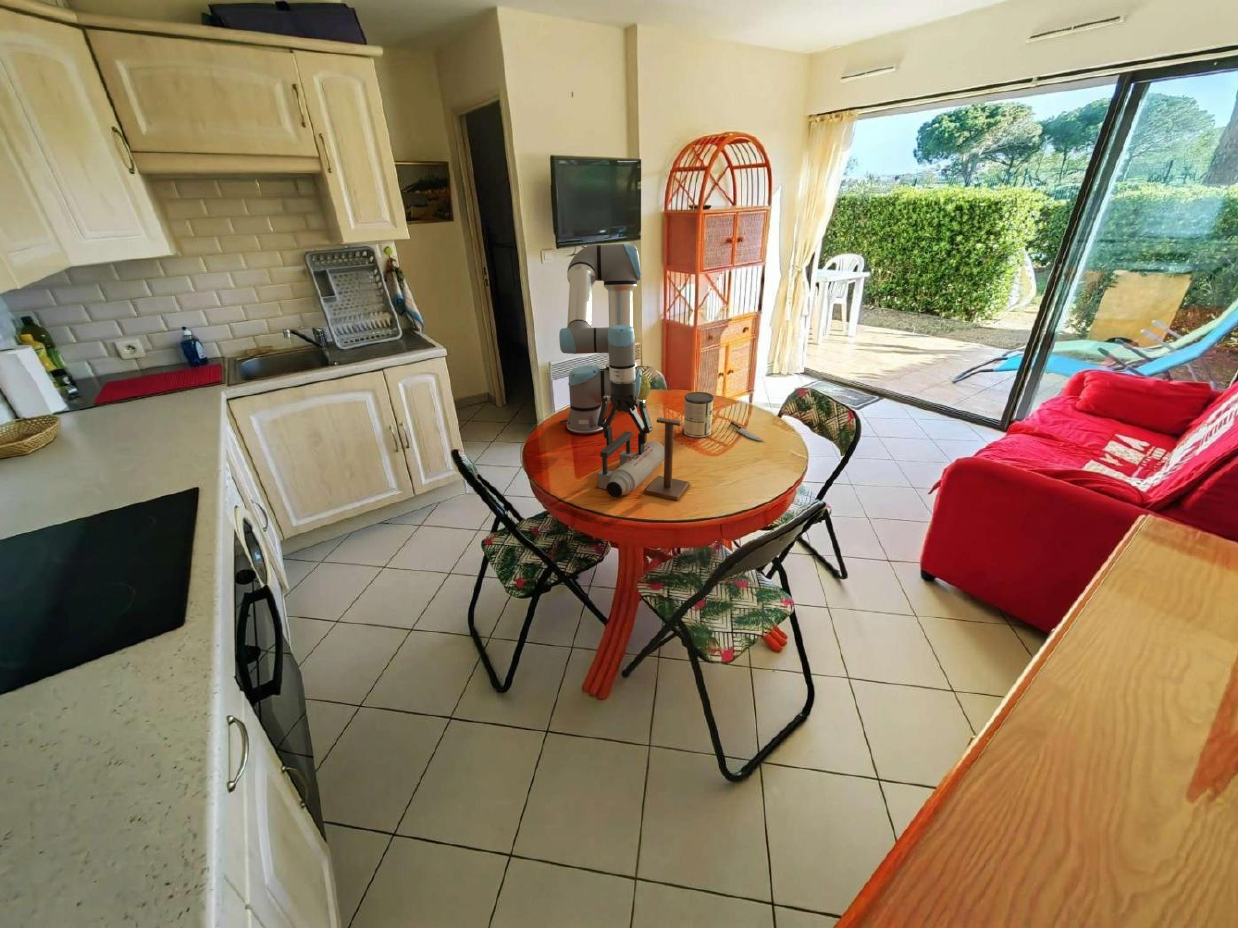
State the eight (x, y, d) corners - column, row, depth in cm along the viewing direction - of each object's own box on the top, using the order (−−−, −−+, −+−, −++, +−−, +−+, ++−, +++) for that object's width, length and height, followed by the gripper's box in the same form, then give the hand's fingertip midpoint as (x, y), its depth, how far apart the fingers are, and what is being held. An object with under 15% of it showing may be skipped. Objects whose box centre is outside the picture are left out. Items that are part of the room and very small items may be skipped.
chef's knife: (756, 443, 180) (763, 441, 181) (757, 441, 179) (764, 439, 180) (725, 425, 195) (732, 423, 196) (725, 422, 195) (732, 420, 196)
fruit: (615, 410, 212) (605, 375, 211) (621, 411, 226) (611, 378, 225) (653, 398, 209) (642, 363, 208) (656, 399, 223) (646, 366, 223)
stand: (645, 493, 149) (645, 423, 140) (658, 478, 157) (659, 412, 148) (677, 500, 145) (680, 429, 136) (689, 485, 153) (692, 417, 144)
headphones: (598, 487, 153) (596, 451, 148) (623, 464, 167) (622, 430, 162) (611, 490, 151) (610, 454, 146) (635, 466, 165) (635, 432, 160)
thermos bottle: (644, 438, 165) (601, 474, 143) (667, 444, 162) (626, 481, 140) (643, 460, 169) (600, 498, 147) (665, 466, 166) (625, 506, 144)
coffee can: (683, 426, 195) (684, 391, 189) (710, 427, 194) (712, 391, 188) (683, 437, 186) (685, 400, 179) (712, 438, 185) (714, 401, 178)
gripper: (582, 380, 150) (587, 449, 159) (653, 387, 141) (654, 460, 150) (594, 374, 156) (598, 440, 165) (663, 380, 147) (664, 451, 156)
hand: (625, 450), depth 158 cm, fingers open, 10 cm apart
